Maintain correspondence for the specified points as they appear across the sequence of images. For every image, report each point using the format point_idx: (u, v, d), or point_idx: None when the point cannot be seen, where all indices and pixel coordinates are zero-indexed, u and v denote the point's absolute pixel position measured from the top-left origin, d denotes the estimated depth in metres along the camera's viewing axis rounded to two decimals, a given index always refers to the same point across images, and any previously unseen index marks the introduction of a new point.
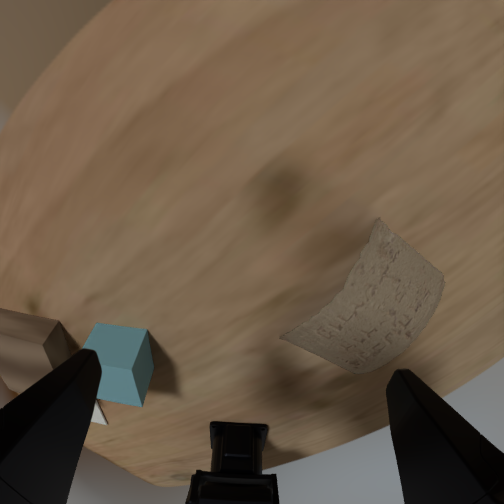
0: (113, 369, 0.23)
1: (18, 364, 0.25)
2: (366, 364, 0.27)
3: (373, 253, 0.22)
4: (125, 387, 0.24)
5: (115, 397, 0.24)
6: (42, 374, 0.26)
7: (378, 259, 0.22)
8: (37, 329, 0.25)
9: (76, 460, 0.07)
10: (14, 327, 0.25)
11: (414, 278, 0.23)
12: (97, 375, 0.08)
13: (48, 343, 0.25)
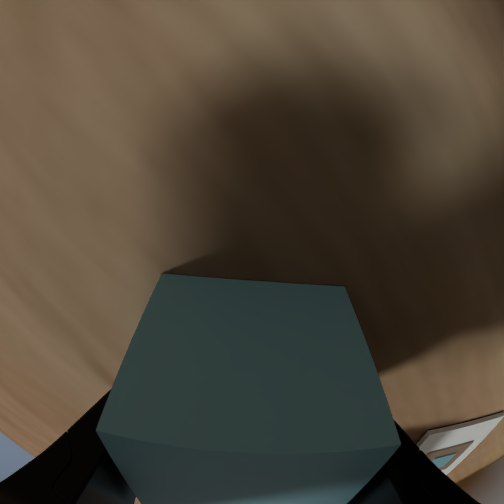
0: (135, 473, 0.05)
1: None
2: None
3: None
4: (246, 477, 0.05)
5: (321, 497, 0.05)
6: None
7: None
8: None
9: None
10: None
11: None
12: None
13: None
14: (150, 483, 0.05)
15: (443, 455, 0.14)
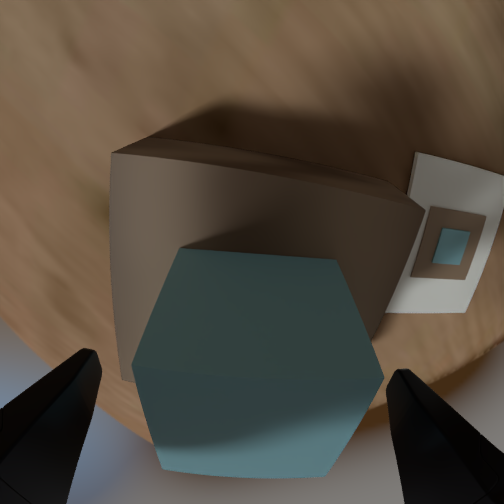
0: (158, 413, 0.06)
1: None
2: None
3: None
4: (256, 409, 0.06)
5: (319, 438, 0.07)
6: (252, 236, 0.10)
7: None
8: None
9: (77, 460, 0.07)
10: None
11: None
12: (97, 375, 0.08)
13: (140, 149, 0.10)
14: (170, 425, 0.07)
15: (453, 227, 0.13)
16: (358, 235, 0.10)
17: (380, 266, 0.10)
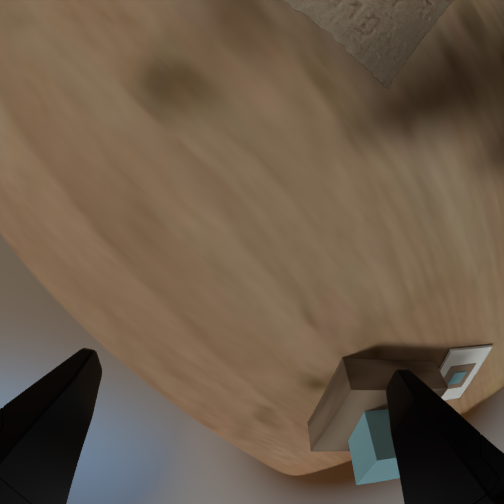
0: (373, 468, 0.20)
1: None
2: None
3: None
4: None
5: None
6: None
7: None
8: (339, 385, 0.24)
9: (76, 460, 0.07)
10: (328, 410, 0.25)
11: None
12: (97, 375, 0.08)
13: (355, 381, 0.23)
14: (374, 470, 0.20)
15: (459, 371, 0.26)
16: None
17: None
